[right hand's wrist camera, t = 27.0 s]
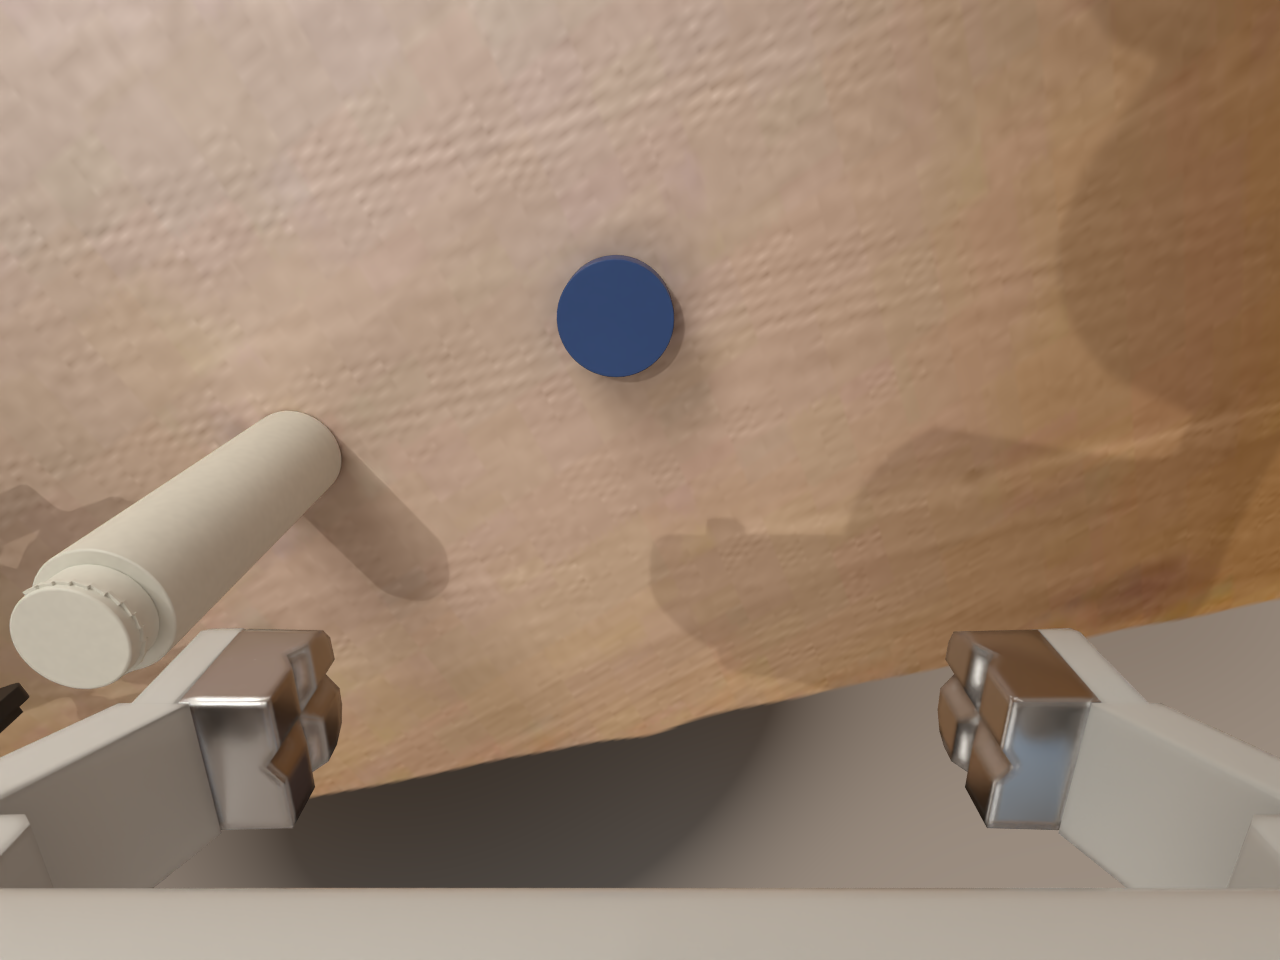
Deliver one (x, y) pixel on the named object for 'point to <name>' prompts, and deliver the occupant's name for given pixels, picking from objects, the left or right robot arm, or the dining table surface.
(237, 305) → the dining table surface
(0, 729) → the left robot arm
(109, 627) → the white bottle
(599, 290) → the lid
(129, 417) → the dining table surface
